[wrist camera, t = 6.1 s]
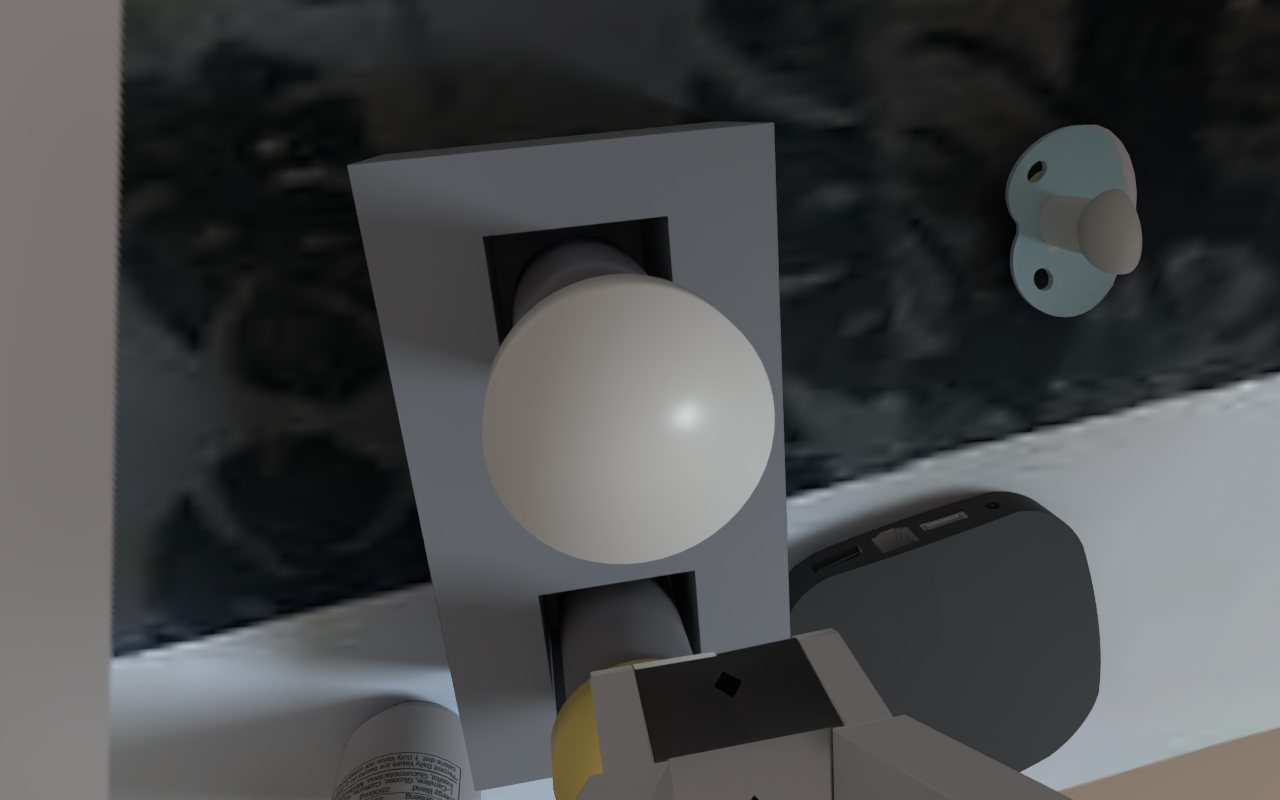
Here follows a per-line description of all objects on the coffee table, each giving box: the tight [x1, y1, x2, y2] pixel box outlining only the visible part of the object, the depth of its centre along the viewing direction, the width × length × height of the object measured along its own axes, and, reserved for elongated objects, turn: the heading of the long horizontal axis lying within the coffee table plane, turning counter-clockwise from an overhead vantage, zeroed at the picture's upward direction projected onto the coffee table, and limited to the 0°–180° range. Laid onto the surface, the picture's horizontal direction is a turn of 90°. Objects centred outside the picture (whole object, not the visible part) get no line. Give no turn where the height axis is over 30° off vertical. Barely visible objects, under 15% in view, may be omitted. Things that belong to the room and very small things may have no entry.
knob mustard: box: [550, 575, 693, 800], centre depth 29 cm, size 6×6×11 cm
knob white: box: [482, 235, 775, 564], centre depth 21 cm, size 6×6×11 cm
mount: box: [347, 121, 790, 791], centre depth 30 cm, size 12×22×7 cm, turn 5°
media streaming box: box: [788, 492, 1101, 772], centre depth 38 cm, size 15×15×3 cm
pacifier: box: [1005, 125, 1142, 317], centre depth 31 cm, size 7×6×6 cm
